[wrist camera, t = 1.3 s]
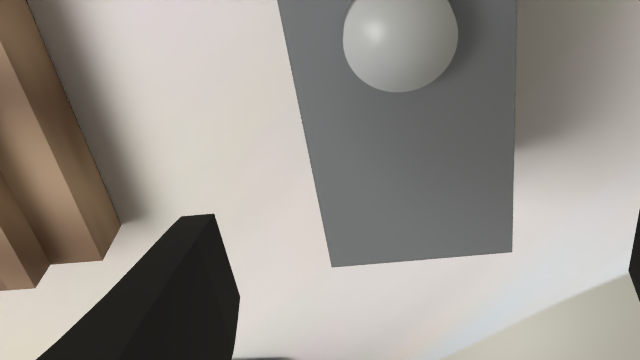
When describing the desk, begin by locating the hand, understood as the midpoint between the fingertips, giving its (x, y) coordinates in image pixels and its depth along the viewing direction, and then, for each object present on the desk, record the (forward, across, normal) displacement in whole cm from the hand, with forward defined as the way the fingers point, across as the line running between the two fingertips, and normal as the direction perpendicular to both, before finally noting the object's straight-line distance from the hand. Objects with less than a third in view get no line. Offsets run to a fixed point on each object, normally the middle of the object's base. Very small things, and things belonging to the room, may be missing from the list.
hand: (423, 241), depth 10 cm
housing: (+10, 0, 0) cm, 10 cm away
